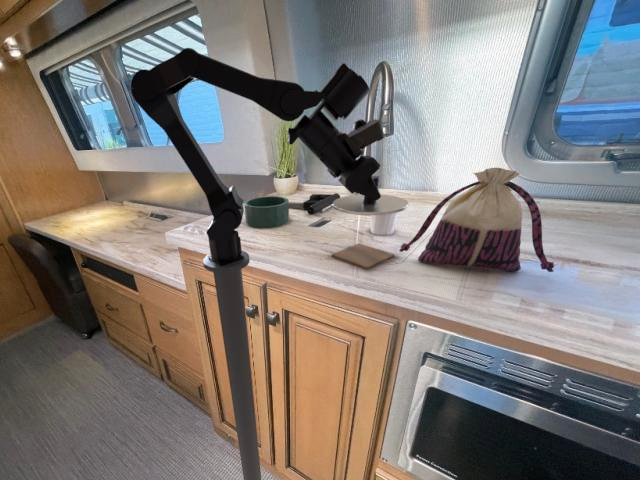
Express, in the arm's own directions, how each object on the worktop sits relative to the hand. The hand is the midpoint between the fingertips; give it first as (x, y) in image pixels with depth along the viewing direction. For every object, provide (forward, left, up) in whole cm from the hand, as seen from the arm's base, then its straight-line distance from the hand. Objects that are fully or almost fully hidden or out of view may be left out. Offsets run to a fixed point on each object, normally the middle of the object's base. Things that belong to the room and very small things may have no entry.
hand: (376, 196), depth 63 cm
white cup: (+16, +8, -14) cm, 22 cm away
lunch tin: (+1, +39, -13) cm, 41 cm away
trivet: (-1, +1, -13) cm, 13 cm away
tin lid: (-1, +1, -2) cm, 2 cm away
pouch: (+9, -16, -14) cm, 23 cm away
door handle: (+22, +41, -14) cm, 48 cm away
